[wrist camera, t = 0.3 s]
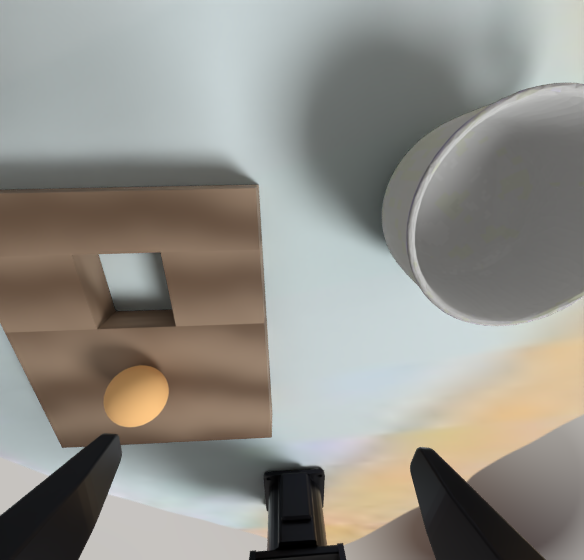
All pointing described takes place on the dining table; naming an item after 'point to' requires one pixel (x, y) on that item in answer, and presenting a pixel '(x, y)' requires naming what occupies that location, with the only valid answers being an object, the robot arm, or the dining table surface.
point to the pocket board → (139, 324)
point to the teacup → (495, 209)
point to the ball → (136, 396)
